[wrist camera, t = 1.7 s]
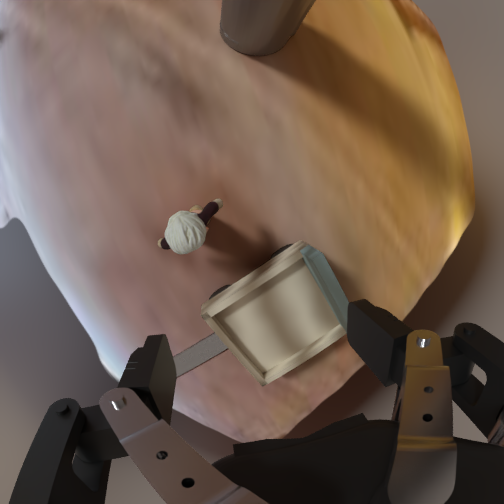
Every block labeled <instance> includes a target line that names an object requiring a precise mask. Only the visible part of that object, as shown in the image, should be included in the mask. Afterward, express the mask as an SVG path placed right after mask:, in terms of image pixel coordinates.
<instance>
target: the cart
mask: <svg viewBox="0 0 504 504" xmlns="http://www.w3.org/2000/svg"><path fill="white" fill-rule="evenodd" d="M348 304H349V301H348V300H347V298H346V296H345V294H344V292H343V290H342V288H341V286H340V284H339V282H338V280H337V279H336V277H335V275H334V273H333V271H332V269H331V267H330V266H329V264H328V262H327V260H326V258H325V256H324V255H323V253H322V252H320V251H318V250H317V249H315V248H313V247H312V246H310V245H309V244H307V243H305V242H304V241H302V240H299V241H298V242H296V243H295V244H289V245H286V246H284V247H282V248H280V249H279V250H277V251H276V252H275V253H274V254H273V255H272V257H271V260H269V261H268V262H266V263H265V264H263V265H262V266H260V267H259V268H257V269H256V270H254V271H253V272H251V273H250V274H248V275H247V276H245V277H244V278H242V279H241V280H239V281H237V282H236V283H234V284H233V285H231V286H230V285H226V286H223V287H221V288H220V289H218V290H217V291H216V292H214V293H213V294H212V295H211V297H210V298H209V300H208V301H207V302H205V303H204V304H202V307H201V316H202V318H203V319H204V320H205V321H206V322H207V324H208V325H209V326H210V327H211V329H212V330H213V331H214V332H215V333H216V335H217V336H218V337H219V338H220V339H221V340H222V342H223V343H224V344H225V345H226V346H227V347H228V349H229V350H230V351H231V352H232V353H233V354H234V356H235V357H236V358H237V359H238V360H239V361H240V362H241V363H242V365H243V366H244V367H245V368H246V369H247V370H248V371H249V372H250V373H251V375H252V376H253V377H254V378H255V379H256V380H257V381H258V382H259V383H260V384H261V385H262V386H264V385H266V384H268V383H270V382H272V381H273V380H275V379H277V378H279V377H280V376H282V375H284V374H285V373H287V372H289V371H290V370H292V369H294V368H295V367H297V366H298V365H300V364H302V363H303V362H305V361H306V360H308V359H310V358H311V357H313V356H314V355H316V354H317V353H319V352H320V351H322V350H323V349H325V348H326V347H328V346H329V345H331V344H332V343H334V342H335V341H337V340H338V339H340V338H341V337H342V336H344V335H345V334H347V311H348Z"/></svg>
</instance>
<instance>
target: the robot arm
mask: <svg viewBox="0 0 504 504" xmlns="http://www.w3.org/2000/svg"><path fill="white" fill-rule="evenodd" d="M315 1H316V0H222V8H221V20H220V33H221V36H222V38H223V40H224V41H225V42H226V43H227V44H228V45H229V46H230V47H231V48H233V49H234V50H236V51H239V52H241V53H244V54H248V55H256V56H258V55H267V54H272V53H274V52H276V51H278V50H280V49H281V48H282V47H283V46H284V45H285V44H286V42H287V41H288V39H289V37H290V36H292V35H294V34H295V33H296V31H297V30H298V28H299V26H300V25H301V23H302V21H303V20H304V18H305V17H306V15H307V13H308V12H309V10H310V9H311V7H312V6H313V4H314V2H315ZM347 338H348V342H349V344H350V346H351V347H352V348H353V349H354V350H355V351H356V353H357V354H358V355H359V356H360V357H361V359H362V360H363V361H364V362H365V363H366V364H367V365H368V367H369V368H370V369H371V370H372V372H373V373H374V374H375V375H376V376H377V377H378V379H379V380H380V381H381V382H382V383H383V385H384V386H385V387H387V386H390V385H392V384H394V383H396V384H397V385H398V386H397V390H396V396H395V401H394V407H393V413H392V418H391V420H367V419H366V418H365V416H364V414H363V413H361V414H358V415H355V416H352V417H350V418H347V419H344V420H341V421H337V422H334V423H332V424H331V425H328V426H326V427H325V428H323V429H321V430H319V431H317V432H315V433H313V434H311V435H309V436H307V437H304V438H297V439H265V440H259V441H253V442H247V443H241V444H234V445H233V448H234V454H231V455H228V456H226V457H224V458H221V459H220V460H218V461H216V462H214V463H213V464H210V463H208V462H207V461H206V460H205V459H204V458H203V457H202V456H201V455H199V454H198V453H197V452H196V451H195V450H194V449H193V448H192V447H191V446H190V445H189V444H188V443H187V442H185V441H184V440H183V439H182V438H181V437H180V436H179V435H178V434H177V433H176V432H175V431H174V430H173V429H172V428H171V427H170V422H171V414H172V406H173V399H174V392H175V385H176V377H177V373H176V366H175V362H174V359H173V356H172V353H171V350H170V346H169V343H168V339H167V337H166V335H165V334H160V335H150V336H147V339H146V341H145V344H144V346H143V347H141V348H137V349H136V350H135V351H134V352H133V353H132V354H131V356H130V358H129V360H128V363H127V365H126V367H125V370H124V372H123V375H122V377H121V380H120V382H119V385H118V387H117V388H116V389H112V390H110V391H108V392H107V393H105V394H104V395H103V396H102V397H101V399H100V402H99V405H96V406H91V407H86V408H81V407H80V405H79V404H78V403H77V401H76V400H74V399H71V398H65V399H60V400H58V401H56V402H54V403H53V404H52V405H51V406H50V407H49V409H48V411H47V413H46V415H45V417H44V419H43V421H42V423H41V425H40V427H39V429H38V431H37V433H36V435H35V438H34V440H33V442H32V444H31V447H30V449H29V451H28V454H27V456H26V458H25V461H24V463H23V466H22V468H21V470H20V473H19V476H18V478H17V481H16V484H15V487H14V490H13V492H12V495H11V499H10V501H9V504H105V496H106V490H107V482H108V476H109V471H110V466H111V460H112V459H115V458H121V457H125V456H130V458H131V459H132V460H133V462H134V463H135V465H136V466H137V467H138V469H139V470H140V471H141V473H142V474H143V475H144V477H145V478H146V479H147V481H148V482H149V483H150V484H151V486H152V487H153V488H154V489H155V490H156V492H157V493H158V494H159V495H160V496H161V498H162V499H163V500H164V501H165V502H166V503H167V504H504V343H503V342H502V341H500V340H499V339H498V338H496V337H495V336H493V335H492V334H490V333H489V332H487V331H486V330H484V329H483V328H481V327H480V326H478V325H476V324H473V323H461V324H458V325H457V326H456V327H455V330H454V334H453V336H451V337H446V338H440V337H439V336H438V335H437V334H436V333H434V332H432V331H428V330H416V331H414V330H412V329H411V328H410V327H408V326H407V325H406V324H404V323H403V322H402V321H400V320H398V318H396V317H395V316H393V315H392V314H391V313H390V312H388V311H387V310H385V309H382V308H380V307H377V306H376V307H375V306H374V305H372V304H371V303H370V302H369V301H367V300H366V299H362V300H358V301H354V302H350V303H349V304H348V311H347ZM474 364H476V365H478V366H479V367H480V368H481V369H482V370H483V371H485V373H486V376H487V382H486V384H485V386H484V385H483V384H482V383H481V382H480V381H479V380H478V379H477V378H476V377H475V376H473V375H472V374H471V373H472V370H473V367H474ZM452 400H453V401H454V402H455V403H456V404H457V405H458V406H459V407H460V408H461V410H462V411H463V412H464V413H465V414H466V415H467V416H468V417H469V418H470V420H471V421H472V422H473V423H474V424H475V425H476V426H477V428H478V429H479V430H480V431H481V432H482V433H483V434H484V436H485V437H486V438H487V439H488V443H482V442H477V441H472V440H467V439H462V438H457V437H453V406H452ZM74 453H75V457H74ZM73 457H74V460H73ZM72 460H73V463H72Z"/></svg>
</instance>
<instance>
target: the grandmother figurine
mask: <svg viewBox="0 0 504 504" xmlns="http://www.w3.org/2000/svg"><path fill="white" fill-rule="evenodd" d="M222 206H223V201H222V200H221V199H215V200H214V201H212V202H210V203H208V204H207V205H206V206H205V208H204V209H203V208H202V207H200V206H198V205H195V206H193V207H192V208H191V209H190V211H179V212H177V213H176V214H174V215H173V216H171V217H170V219H169V221H168V227H167V228H166V231H165V238H161V239H160V240H159V241H158V246H159V247H160V248H163V249H172V250H173V251H174V252H175V253H178V254H187V253H190V252H192V251H194V250H196V249H198V248H199V247H201V246H202V244H203V243H204V241H205V236H206V233H207V231H208V227H206V225H207V224H208V223H209V222H210V218H211V217H212V216H213V215H214V214H216V213H217V212H218V210H219V209H220V208H222Z"/></svg>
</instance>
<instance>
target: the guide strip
mask: <svg viewBox="0 0 504 504" xmlns="http://www.w3.org/2000/svg"><path fill="white" fill-rule="evenodd" d="M227 348H228V347H227V346H226V345H225V344H224V343H223V342H222V340H221V339H220V338H219V337H218V336H217V335H216V333H215V332H214V333H213V334H211V335H209V336H208V337H206V338H204V339H203V340H201V341H199V342H198V343H196V344H194V345H193V346H191V347H189V348H188V349H186V350H184V351H182V352H181V353H179V354H177V355H176V356H174V357H173V359H174V362H175V366H176V373H177V377H178V376H180V375H182V374H183V373H185V372H187V371H189V370H191V369H193V368H194V367H196V366H198V365H200V364H201V363H203V362H205V361H207V360H209V359H210V358H212V357H214V356H215V355H217V354H219V353H221V352H222V351H224V350H226V349H227Z"/></svg>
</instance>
